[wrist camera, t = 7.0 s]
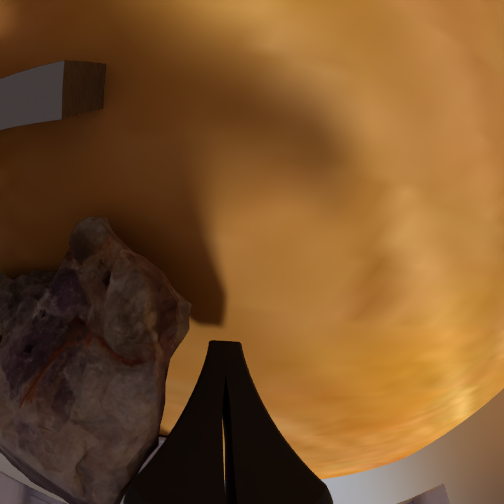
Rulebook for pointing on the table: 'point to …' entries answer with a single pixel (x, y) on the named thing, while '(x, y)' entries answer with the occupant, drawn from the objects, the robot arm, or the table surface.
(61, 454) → the rock
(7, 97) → the frame
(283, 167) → the table surface
